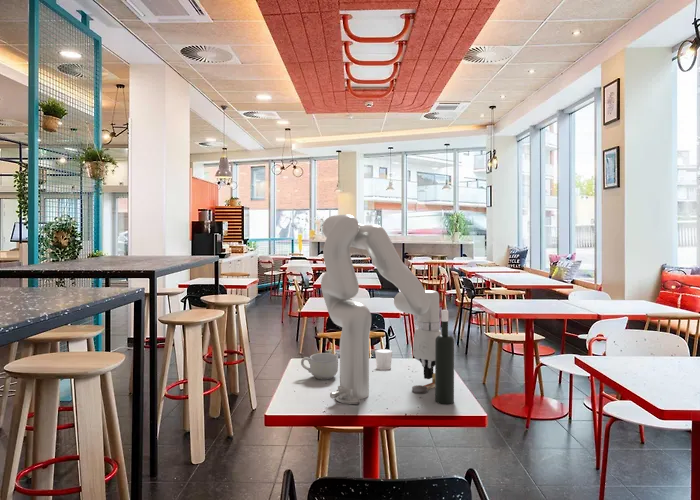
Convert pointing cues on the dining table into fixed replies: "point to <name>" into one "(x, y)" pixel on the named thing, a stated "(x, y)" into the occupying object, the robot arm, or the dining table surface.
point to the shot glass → (383, 359)
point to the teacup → (322, 365)
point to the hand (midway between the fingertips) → (428, 378)
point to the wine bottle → (444, 364)
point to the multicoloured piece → (424, 388)
